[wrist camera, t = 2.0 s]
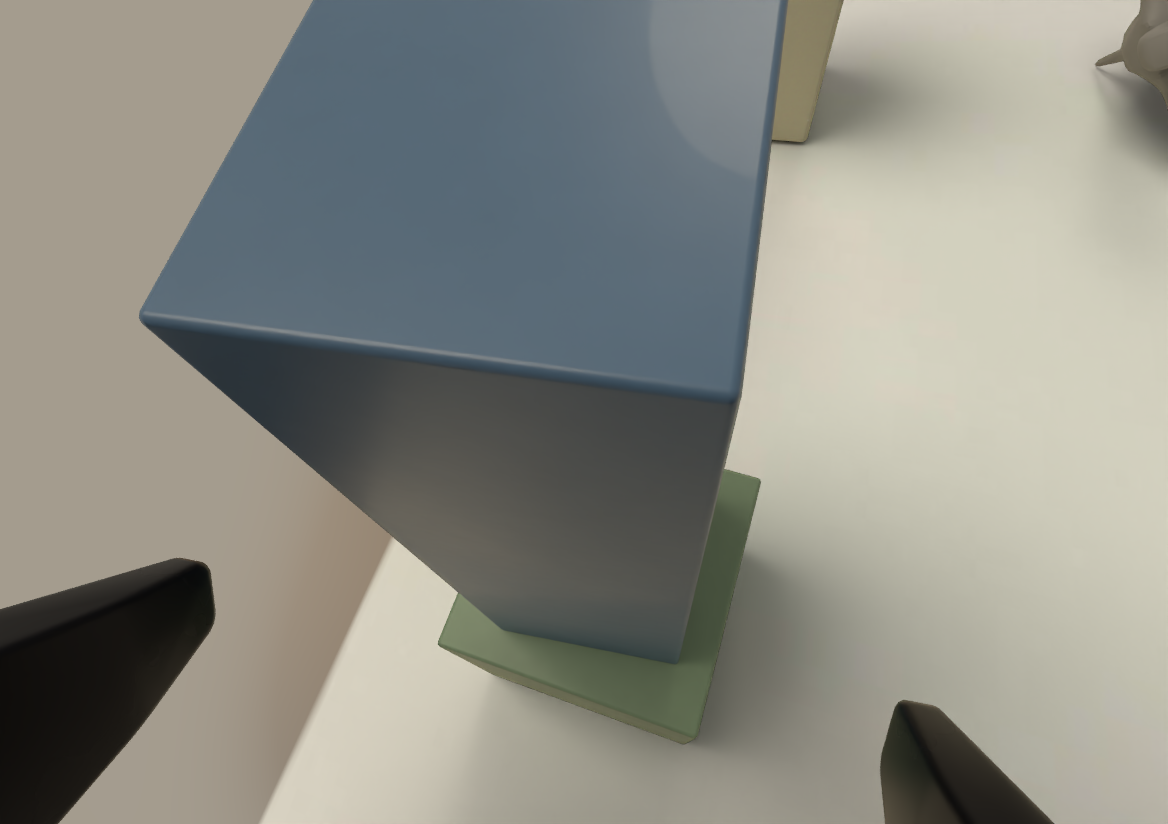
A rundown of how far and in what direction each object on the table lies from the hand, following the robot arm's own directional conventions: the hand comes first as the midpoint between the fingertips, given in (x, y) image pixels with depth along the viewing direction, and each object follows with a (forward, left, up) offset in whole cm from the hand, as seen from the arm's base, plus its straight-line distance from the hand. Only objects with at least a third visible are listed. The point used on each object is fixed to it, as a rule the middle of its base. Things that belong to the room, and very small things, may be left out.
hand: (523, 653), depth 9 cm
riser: (+3, 0, -13) cm, 13 cm away
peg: (+3, 0, -7) cm, 8 cm away
